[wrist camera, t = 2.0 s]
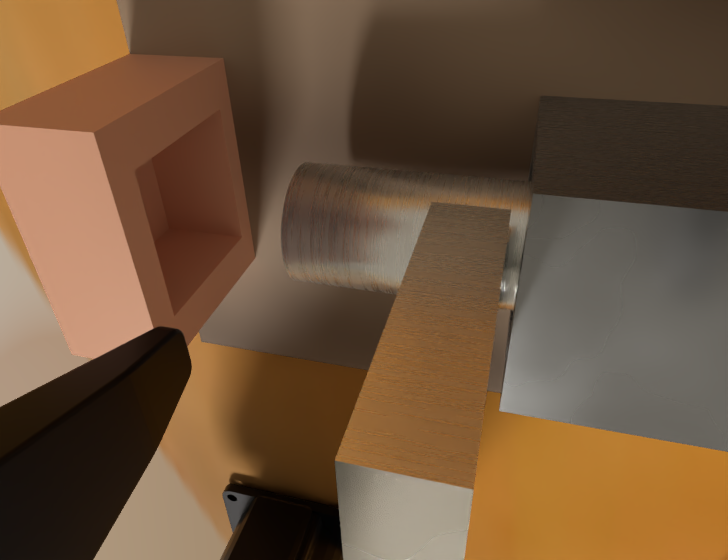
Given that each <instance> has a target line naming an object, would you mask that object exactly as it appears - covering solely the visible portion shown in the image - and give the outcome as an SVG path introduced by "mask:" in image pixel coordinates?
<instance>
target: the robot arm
mask: <svg viewBox="0 0 728 560" xmlns="http://www.w3.org/2000/svg"><path fill="white" fill-rule="evenodd" d="M191 368H192V365H191V359H190V356H189V352H188V348H187V344H186V340H185V337H184V334H183V332H182V331H181V330H179V329H176V328H170V327H164V326H159V327H156V328H153V329H151V330H149V331H147V332H146V333H144V334H142V335H140V336H138V337H136V338H134V339H132V340H130V341H128V342H126V343H124V344H122V345H120V346H118V347H116V348H114V349H112V350H110V351H109V352H107V353H105V354H103V355H101V356H99V357H97V358H95V359H93V360H91V361H89V362H87V363H85V364H83V365H81V366H79V367H77V368H75V369H73V370H71V371H70V372H68V373H66V374H64V375H62V376H60V377H58V378H56V379H54V380H52V381H50V382H48V383H46V384H44V385H42V386H40V387H38V388H36V389H35V390H32V391H31V392H29V393H27V394H25V395H23V396H21V397H19V398H17V399H15V400H13V401H11V402H9V403H7V404H5V405H3V406H1V407H0V560H93V559H94V558H95V556H96V554H97V552H98V551H99V549H100V547H101V545H102V544H103V542H104V540H105V539H106V537H107V535H108V533H109V531H110V530H111V528H112V526H113V525H114V523H115V521H116V520H117V518H118V516H119V514H120V513H121V511H122V509H123V508H124V506H125V504H126V502H127V501H128V499H129V497H130V495H131V494H132V492H133V490H134V489H135V487H136V485H137V483H138V482H139V480H140V478H141V477H142V475H143V473H144V471H145V469H146V468H147V466H148V464H149V463H150V461H151V459H152V457H153V455H154V454H155V452H156V450H157V448H158V446H159V444H160V442H161V440H162V438H163V435H164V433H165V431H166V429H167V426H168V424H169V422H170V420H171V417H172V415H173V413H174V411H175V409H176V406H177V404H178V402H179V400H180V397H181V395H182V393H183V391H184V388H185V386H186V384H187V382H188V379H189V377H190V374H191ZM223 499H224V502H225V506H226V510H227V513H228V517H229V520H230V524H231V528H232V531H233V534H232V536H231V538H230V540H229V542H228V544H227V546H226V548H225V550H224V553H223V555H222V557H221V559H220V560H343V550H342V539H341V527H340V516H339V508H335V507H330V506H326V505H322V504H317V503H313V502H309V501H304V500H300V499H296V498H291V497H287V496H283V495H278V494H274V493H270V492H265V491H261V490H257V489H252V488H248V487H244V486H239V485H235V484H229V485H227V486H226V488H225V490H224V492H223Z"/></svg>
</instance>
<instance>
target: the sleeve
mask: <svg viewBox="0 0 728 560" xmlns="http://www.w3.org/2000/svg"><path fill="white" fill-rule="evenodd" d="M528 181H530V182H531V191H530V203H529V214H528V220H527V227H526V233H525V240H524V246H523V253H522V259H521V266H520V272H519V279H518V285H517V292H516V298H515V305H514V311H512V310H510V315H509V324H508V334H507V343H506V352H505V362H504V371H503V380H502V389H501V399H500V408H499V411H503V412H508V413H514V414H519V415H525V416H531V417H536V418H542V419H547V420H553V421H559V422H564V423H570V424H575V425H581V426H587V427H592V428H598V429H603V430H609V431H615V432H620V433H626V434H631V435H637V436H643V437H648V438H654V439H659V440H665V441H670V442H676V443H682V444H687V445H693V446H698V447H704V448H710V449H715V450H721V451H726V452H728V106H722V105H704V104H686V103H667V102H649V101H631V100H613V99H594V98H576V97H558V96H540V102H539V109H538V116H537V122H536V129H535V136H534V143H533V149H532V156H531V163H530V170H529V176H528Z"/></svg>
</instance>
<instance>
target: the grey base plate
mask: <svg viewBox="0 0 728 560" xmlns="http://www.w3.org/2000/svg"><path fill="white" fill-rule="evenodd" d="M117 4H118V8H119V12H120V16H121V20H122V24H123V28H124V32H125V36H126V40H127V44H128V48H129V52H130V54H144V55H165V56H187V57H209V58H223V59H224V65H225V72H226V78H227V84H228V90H229V97H230V103H231V109H232V115H233V121H234V128H235V134H236V140H237V146H238V153H239V159H240V165H241V171H242V178H243V184H244V190H245V196H246V202H247V209H248V215H249V221H250V227H251V234H252V240H253V246H254V252H255V259H254V260H253V262H252V263H251V264H250V266H249V267H248V268H247V270H246V271H245V272H244V273H243V275H242V276H241V277H240V279H239V280H238V281H237V282H236V284H235V285H234V286H233V288H232V289H231V290H230V292H229V293H228V294H227V295H226V297H225V298H224V299H223V301H222V302H221V303H220V304H219V306H218V307H217V308H216V310H215V311H214V312H213V314H212V315H211V316H210V317H209V319H208V320H207V321H206V323H205V324H204V325H203V327H202V328H201V329H200V330H199V333H200V337H201V341H202V342H206V343H212V344H218V345H224V346H230V347H236V348H241V349H247V350H253V351H259V352H265V353H270V354H276V355H282V356H288V357H294V358H300V359H305V360H311V361H317V362H323V363H329V364H335V365H340V366H346V367H352V368H358V369H364V370H369V368H370V365H371V362H372V360H373V357H374V354H375V352H376V349H377V346H378V344H379V341H380V338H381V336H382V333H383V330H384V328H385V325H386V322H387V320H388V317H389V314H390V312H391V309H392V306H393V304H394V301H395V298H396V296H397V295H396V294H389V293H382V292H375V291H367V290H360V289H353V288H346V287H339V286H331V285H324V284H317V283H310V282H303V281H296V280H293V279H292V278H290V276H289V275H288V273H287V271H286V269H285V266H284V262H283V257H282V249H281V222H282V213H283V207H284V202H285V197H286V193H287V190H288V187H289V184H290V181H291V179H292V177H293V175H294V173H295V171H296V170H297V168H298V167H299V166H300V165H301V164H303V163H304V162H314V163H325V164H337V165H348V166H359V167H371V168H382V169H393V170H405V171H416V172H427V173H439V174H450V175H461V176H473V177H484V178H496V179H507V180H518V181H528V176H529V170H530V163H531V156H532V149H533V143H534V136H535V129H536V122H537V116H538V109H539V102H540V96H558V97H576V98H594V99H613V100H631V101H649V102H667V103H686V104H704V105H722V106H728V0H117ZM509 315H510V310H504V309H498V312H497V320H496V327H495V335H494V342H493V350H492V357H491V364H490V372H489V379H488V387H487V391H492V392H498V393H501V389H502V380H503V371H504V362H505V352H506V343H507V334H508V324H509Z"/></svg>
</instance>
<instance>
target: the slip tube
mask: <svg viewBox="0 0 728 560" xmlns="http://www.w3.org/2000/svg"><path fill="white" fill-rule="evenodd" d="M530 191H531V182H530V181H518V180H507V179H496V178H484V177H473V176H461V175H450V174H439V173H427V172H416V171H405V170H393V169H382V168H371V167H359V166H348V165H337V164H325V163H314V162H304V163H303V164H301V165H300V166H299V167H298V168H297V170H296V171H295V173H294V175H293V177H292V179H291V181H290V184H289V187H288V190H287V193H286V197H285V202H284V207H283V213H282V222H281V249H282V257H283V262H284V266H285V269H286V271H287V273H288V275H289V276H290V278H292V279H293V280H296V281H303V282H310V283H317V284H324V285H331V286H339V287H346V288H353V289H360V290H367V291H375V292H382V293H389V294H396V295H397V296H396V298H395V301H394V304H393V306H392V309H391V312H390V314H389V317H388V320H387V322H386V325H385V328H384V330H383V333H382V336H381V338H380V341H379V344H378V346H377V349H376V352H375V354H374V357H373V360H372V362H371V365H370V368H369V370H368V373H367V376H366V378H365V381H364V384H363V386H362V389H361V392H360V394H359V397H358V399H357V402H356V405H355V407H354V410H353V413H352V415H351V418H350V421H349V423H348V426H347V429H346V431H345V434H344V437H343V439H342V442H341V445H340V447H339V450H338V453H337V455H336V458H335V470H336V482H337V493H338V504H339V516H340V527H341V539H342V550H343V560H464V557H465V549H466V542H467V534H468V527H469V520H470V512H471V505H472V497H473V490H474V483H475V475H476V468H477V461H478V453H479V446H480V438H481V431H482V424H483V416H484V409H485V401H486V394H487V387H488V379H489V372H490V364H491V357H492V350H493V342H494V335H495V327H496V320H497V312H498V309H504V310H512V311H514V305H515V298H516V292H517V285H518V279H519V272H520V266H521V259H522V253H523V246H524V240H525V233H526V227H527V220H528V214H529V203H530Z"/></svg>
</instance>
